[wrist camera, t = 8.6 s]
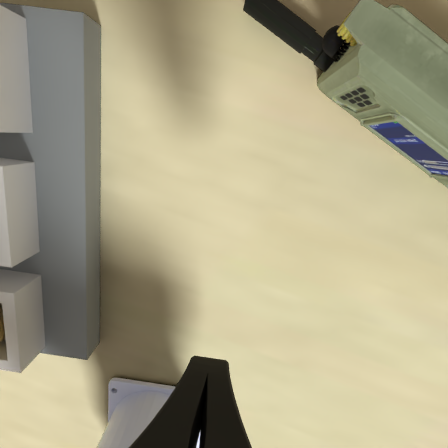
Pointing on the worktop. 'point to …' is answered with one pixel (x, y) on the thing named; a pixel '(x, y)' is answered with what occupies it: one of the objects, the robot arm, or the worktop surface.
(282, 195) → the worktop surface
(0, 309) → the brass knob
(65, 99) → the knob mount
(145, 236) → the worktop surface
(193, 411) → the robot arm
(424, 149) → the handheld radio
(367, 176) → the worktop surface
